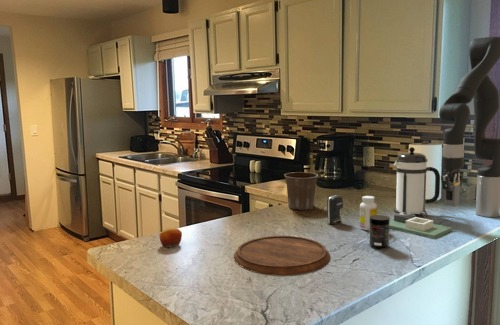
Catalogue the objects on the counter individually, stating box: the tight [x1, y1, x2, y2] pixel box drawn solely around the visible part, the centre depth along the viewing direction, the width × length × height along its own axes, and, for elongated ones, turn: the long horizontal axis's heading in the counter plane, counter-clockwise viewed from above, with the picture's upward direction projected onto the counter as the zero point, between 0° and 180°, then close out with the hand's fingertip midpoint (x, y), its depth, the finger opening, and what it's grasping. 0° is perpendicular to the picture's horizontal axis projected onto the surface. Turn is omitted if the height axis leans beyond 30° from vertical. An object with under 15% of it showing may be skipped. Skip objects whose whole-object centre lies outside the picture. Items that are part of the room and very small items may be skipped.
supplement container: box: [368, 214, 391, 250], centre depth 149 cm, size 7×7×10 cm
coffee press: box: [393, 146, 441, 218], centre depth 188 cm, size 17×16×30 cm
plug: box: [443, 181, 461, 207], centre depth 167 cm, size 4×4×9 cm
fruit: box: [159, 227, 183, 248], centre depth 155 cm, size 8×8×8 cm
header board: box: [389, 212, 453, 239], centre depth 168 cm, size 14×22×5 cm, turn 40°
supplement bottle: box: [359, 195, 378, 231], centre depth 169 cm, size 7×7×13 cm
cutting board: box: [233, 235, 331, 276], centre depth 143 cm, size 32×32×2 cm
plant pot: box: [283, 171, 319, 211], centre depth 206 cm, size 16×16×16 cm
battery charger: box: [326, 195, 344, 225], centre depth 178 cm, size 7×4×11 cm, turn 134°
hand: (451, 198), depth 167 cm, fingers closed on plug, 4 cm apart
